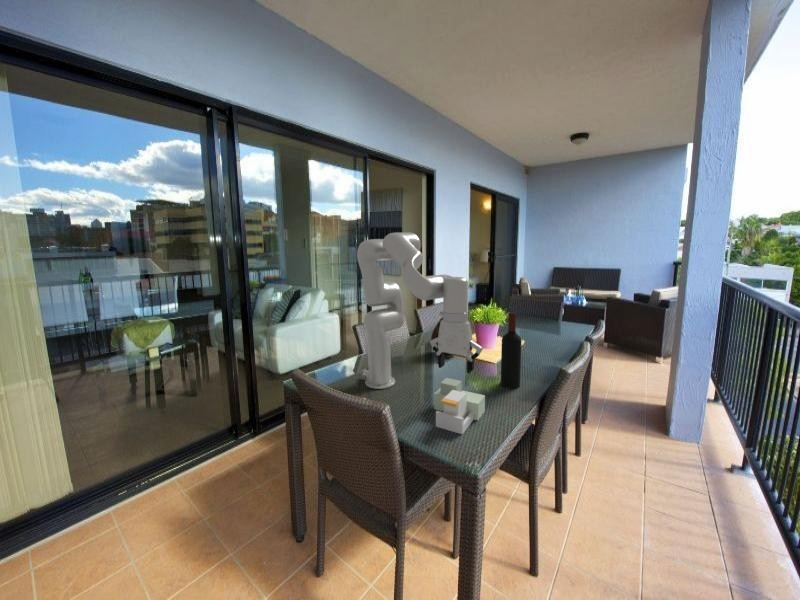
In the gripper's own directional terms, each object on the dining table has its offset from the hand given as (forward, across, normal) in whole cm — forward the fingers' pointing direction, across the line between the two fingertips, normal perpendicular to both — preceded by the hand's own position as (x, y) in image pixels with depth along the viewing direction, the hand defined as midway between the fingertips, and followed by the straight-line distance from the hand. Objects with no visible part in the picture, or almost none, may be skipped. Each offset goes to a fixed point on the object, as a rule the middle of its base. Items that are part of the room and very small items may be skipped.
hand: (455, 369), depth 109 cm
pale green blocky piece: (+18, -2, +4) cm, 19 cm away
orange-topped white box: (+18, 0, 0) cm, 18 cm away
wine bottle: (+18, +8, +38) cm, 43 cm away
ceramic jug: (+19, -31, +61) cm, 71 cm away
